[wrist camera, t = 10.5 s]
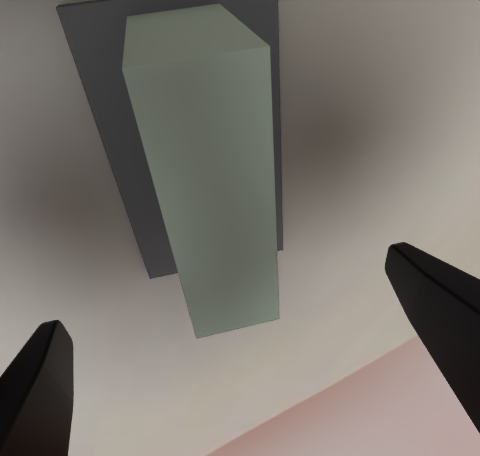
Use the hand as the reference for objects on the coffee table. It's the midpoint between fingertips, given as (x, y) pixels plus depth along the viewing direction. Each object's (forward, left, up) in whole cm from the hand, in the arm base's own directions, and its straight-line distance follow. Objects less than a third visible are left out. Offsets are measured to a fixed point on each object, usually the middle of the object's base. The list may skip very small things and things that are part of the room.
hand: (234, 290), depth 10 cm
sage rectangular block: (0, -1, -7) cm, 7 cm away
